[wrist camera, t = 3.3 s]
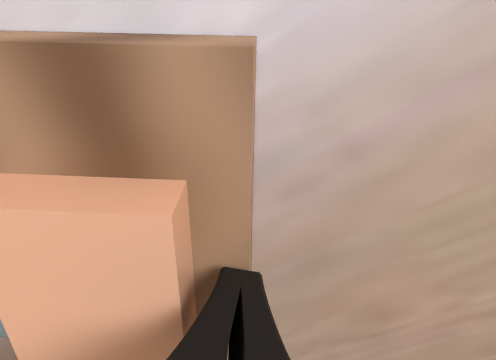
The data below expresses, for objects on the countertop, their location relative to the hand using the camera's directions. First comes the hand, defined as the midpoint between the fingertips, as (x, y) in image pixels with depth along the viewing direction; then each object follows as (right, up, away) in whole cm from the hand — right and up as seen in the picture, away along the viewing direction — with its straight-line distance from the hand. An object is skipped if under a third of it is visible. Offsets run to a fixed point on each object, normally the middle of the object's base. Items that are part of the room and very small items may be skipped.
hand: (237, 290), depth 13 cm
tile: (-5, 0, +1) cm, 5 cm away
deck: (-4, +1, +2) cm, 5 cm away
